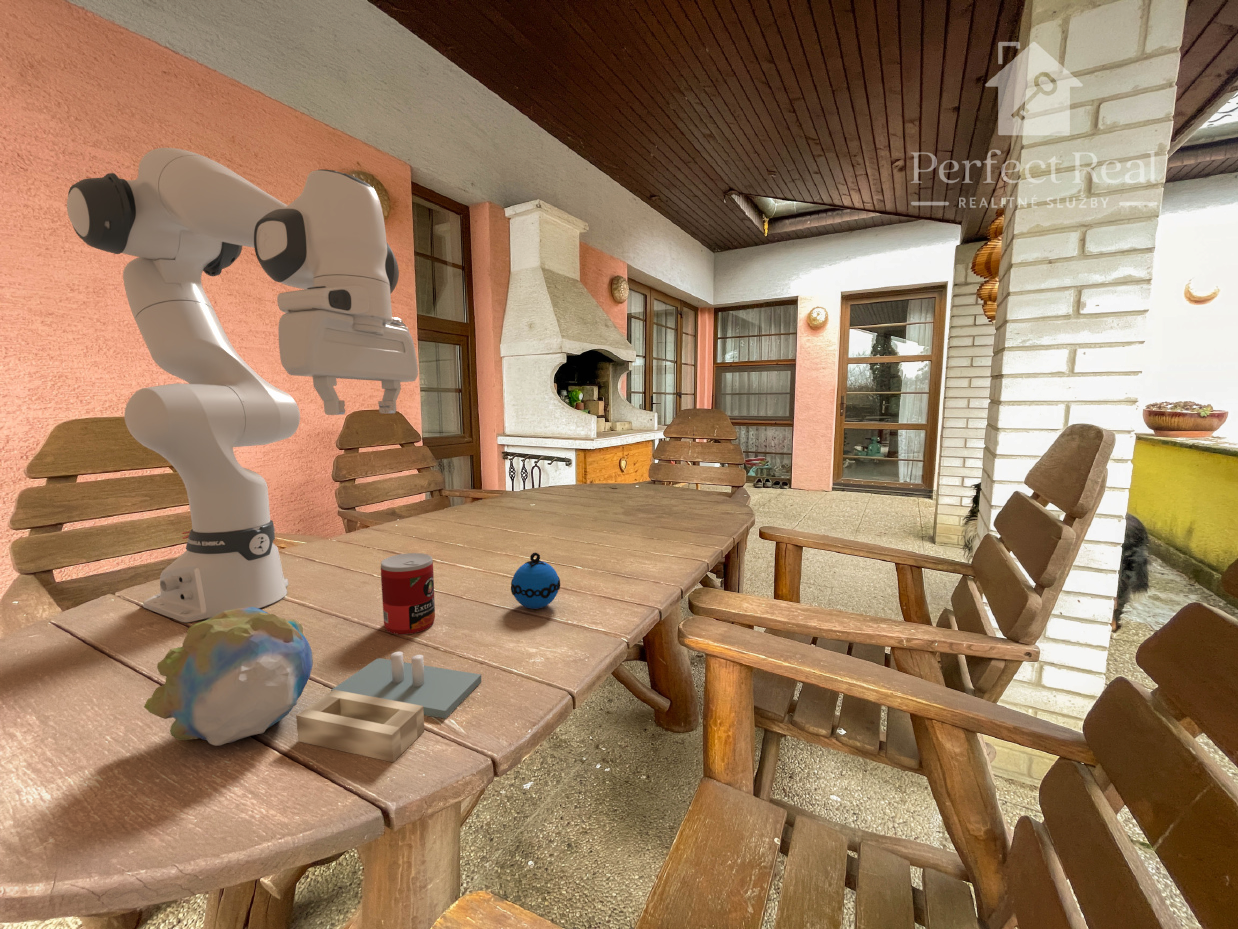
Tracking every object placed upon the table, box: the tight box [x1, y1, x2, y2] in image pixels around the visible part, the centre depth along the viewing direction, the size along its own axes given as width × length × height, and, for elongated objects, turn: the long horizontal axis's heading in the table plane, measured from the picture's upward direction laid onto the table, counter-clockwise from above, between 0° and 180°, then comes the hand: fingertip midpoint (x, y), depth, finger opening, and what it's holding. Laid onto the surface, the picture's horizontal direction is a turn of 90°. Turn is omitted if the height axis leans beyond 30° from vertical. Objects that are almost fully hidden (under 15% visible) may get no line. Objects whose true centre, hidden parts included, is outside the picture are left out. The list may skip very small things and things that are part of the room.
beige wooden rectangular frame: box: [295, 690, 425, 763], centre depth 54 cm, size 12×5×3 cm, turn 75°
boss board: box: [330, 651, 483, 720], centre depth 63 cm, size 16×8×4 cm, turn 75°
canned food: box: [380, 552, 436, 635], centre depth 81 cm, size 8×8×11 cm
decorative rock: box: [143, 607, 314, 747], centre depth 56 cm, size 14×16×15 cm
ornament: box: [510, 552, 561, 610], centre depth 88 cm, size 9×9×10 cm
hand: (363, 414), depth 66 cm, fingers open, 8 cm apart
